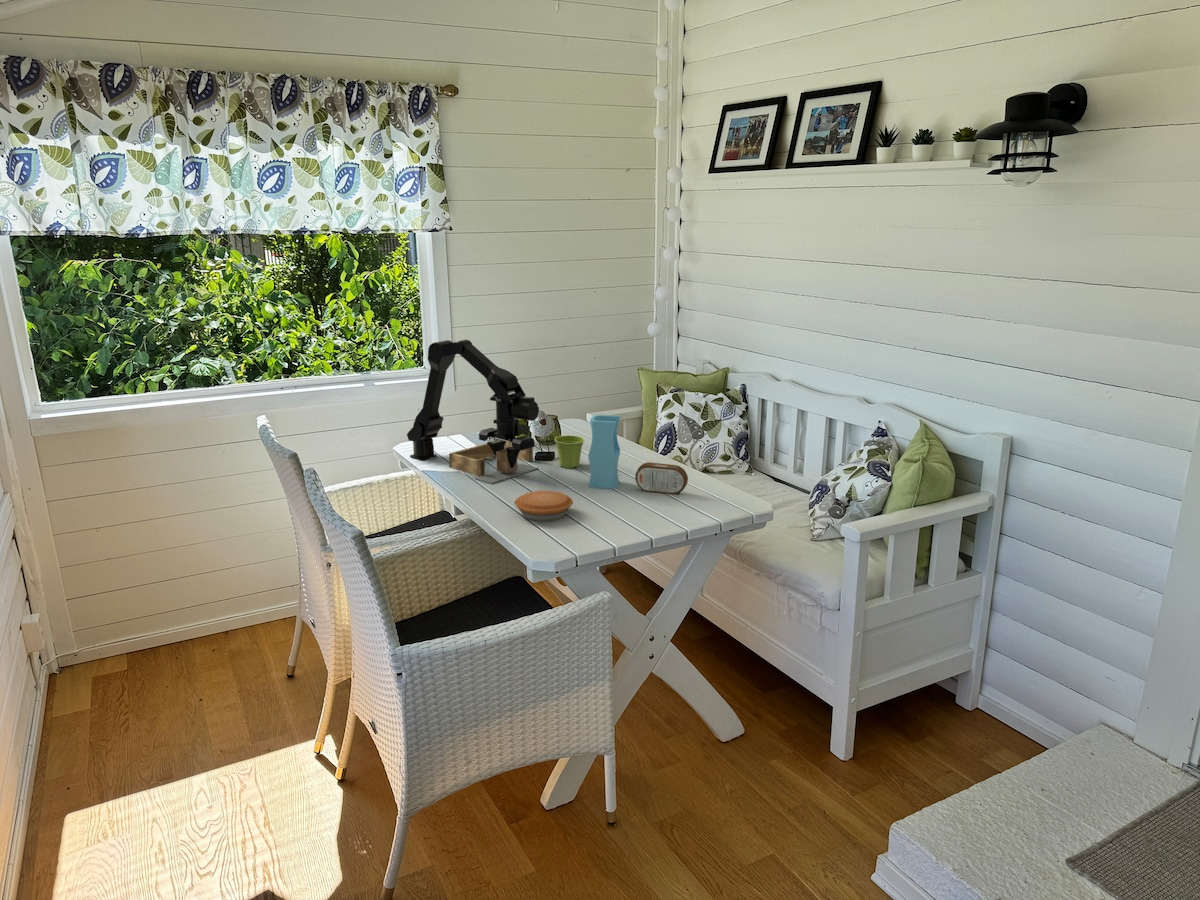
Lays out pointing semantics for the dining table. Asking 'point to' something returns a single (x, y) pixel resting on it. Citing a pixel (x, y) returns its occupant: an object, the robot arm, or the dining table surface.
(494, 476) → the mat
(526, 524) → the dining table surface
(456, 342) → the robot arm
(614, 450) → the wavy blue tube
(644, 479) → the tin
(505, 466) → the block
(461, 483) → the dining table surface
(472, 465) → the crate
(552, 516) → the pie
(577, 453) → the plant pot
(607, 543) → the dining table surface
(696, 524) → the dining table surface
